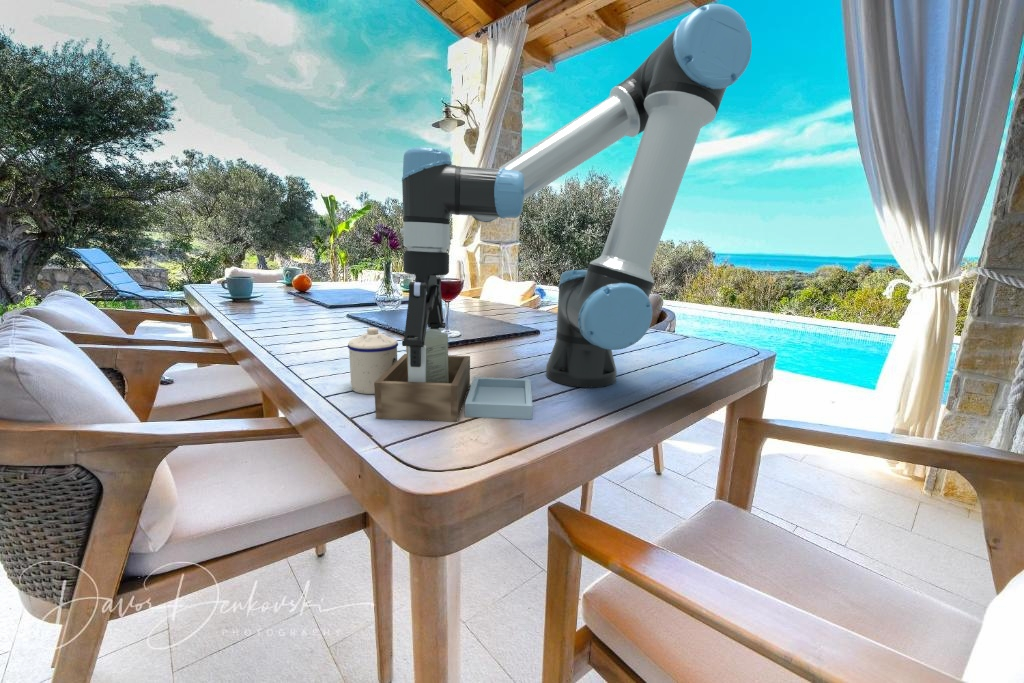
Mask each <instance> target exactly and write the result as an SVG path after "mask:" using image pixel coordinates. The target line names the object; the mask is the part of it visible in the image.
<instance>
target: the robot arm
mask: <svg viewBox="0 0 1024 683" xmlns="http://www.w3.org/2000/svg"><path fill="white" fill-rule="evenodd" d="M751 36H752V35H751V31H749V30H748V27H747V23H746V20H745V19H744V18H743V17H742V16H741V14H740V13H739V12H737V11H736V10H735V9H734V8H732V7H730V6H728V5H725V4H721V3H708V4H705V5H703V6H699V8H697V9H695V10H693V11H692V12H691V13H690V14H688V15H687V16H685V17H684V18H683V19H681V21H680V22H679V23H678V24H677V26H676V28H675V29H674V30H673V31H672V32H671V33H670V34H669V35H668V36H667V37H666V38H665V39H664V40H662V42H661V43H660V44H659V45H658V46H657V47H656V48H655V50H653V51H652V52H651V53H650V54H649V56H647V58H646V59H645V60H644V61H643V62H642V63H641V64H640V65H639V66H638V68H636V70H635V71H633V72H632V74H630V75H629V76H628V77H626V78H625V79H624V80H622V81H621V82H619V83H618V84H617V85H616V86H614V87H612V88H611V90H610V92H609V96H608V97H607V98H606V99H605V100H603V101H602V102H600V103H598V104H596V105H595V106H593V107H592V108H590V109H589V110H587V111H586V112H584V113H582V114H581V115H579V116H578V117H576V118H574V119H573V120H572V121H570V122H568V123H567V124H565V125H564V126H562V127H561V128H559V129H557V130H556V131H554V132H552V133H551V134H550V135H548V136H546V137H544V138H543V139H541V140H540V141H538V142H537V143H535V144H534V145H533V146H531V147H529V148H527V149H526V150H524V151H522V152H521V153H519V154H518V155H516V156H515V157H514V158H512V159H510V160H509V161H507V162H506V163H504V164H502V165H501V166H499V167H498V168H491V167H490V168H489V167H475V166H474V167H472V166H461V165H456V164H452V161H451V155H450V153H449V152H447V151H446V150H443V149H441V148H433V147H424V146H422V147H421V146H416V147H411V148H408V149H407V150H406V151H405V152H404V154H403V161H402V164H403V165H402V177H401V185H402V187H401V188H402V216H403V218H402V221H403V228H400V230H399V233H400V234H401V235H403V241H402V242H403V243H402V244H403V246H404V247H405V248H407V250H405V251H404V252H403V254H402V258H403V260H402V262H403V264H402V266H403V272H404V273H405V274H407V275H414V276H415V278H414V281H410V282H409V284H408V299H407V300H408V302H407V309H406V319H405V320H406V321H405V327H404V337H403V340H401V345H402V347H406V346H408V382H425V383H426V346H425V345H424V344H425V342H424V341H425V335H426V332H427V331H432V330H434V331H438V332H442V329H446V322H444V321H445V319H444V311H443V300H442V299H443V298H442V289H441V287H442V283H441V282H442V278H441V276H446V275H448V274H449V273H450V254H449V253H448V252H447V250H449V249H450V246H451V245H450V244H451V243H450V242H451V240H450V239H451V237H450V236H451V224H450V220H451V219H450V217H451V215H455V216H472V218H473V219H474V220H476V221H478V222H482V223H491V222H493V221H494V220H496V219H498V218H499V219H503V220H504V219H506V218H508V219H512V218H513V219H516V218H517V219H518V218H520V216H521V215H522V213H523V208H524V201H525V200H526V199H528V198H529V197H531V196H532V195H534V194H536V193H537V192H539V191H540V190H542V189H543V188H545V187H546V186H548V185H550V184H551V183H553V182H555V181H556V180H558V179H559V178H561V177H562V176H564V175H566V174H567V173H568V172H571V171H572V170H574V169H575V168H577V167H578V166H580V165H581V164H583V163H584V162H586V161H588V160H590V159H591V158H593V157H595V156H596V155H597V154H599V153H601V152H602V151H604V150H605V149H607V148H608V147H610V146H612V145H613V144H615V143H617V142H618V141H619V140H621V139H623V138H624V137H626V136H627V137H629V138H634V137H637V136H638V135H640V134H641V133H642V135H641V139H640V141H639V144H638V147H637V150H636V153H635V156H634V159H633V162H632V163H631V164H632V165H631V168H630V171H629V173H628V176H627V180H626V183H625V186H624V188H623V190H622V194H621V197H620V201H619V203H618V207H617V209H616V211H615V215H614V218H613V220H612V223H611V226H610V228H609V232H608V235H607V237H606V238H607V239H606V240H605V244H604V247H603V250H602V252H601V255H600V256H599V257H597V258H596V259H593V260H591V261H590V262H589V264H588V267H587V269H571V270H566V271H563V272H561V273H560V274H561V275H560V278H559V283H558V286H557V287H558V300H557V301H558V302H557V318H556V337H555V342H554V345H553V347H552V350H551V353H550V356H549V358H548V359H547V360H548V361H547V363H546V369H545V370H546V371H545V375H546V377H547V378H548V379H549V380H551V381H552V382H555V383H558V384H560V385H565V386H570V387H577V388H602V387H603V388H604V387H607V386H610V385H613V384H614V383H615V382H616V381H617V378H616V377H617V366H616V363H615V360H614V359H615V358H614V355H613V354H614V353H613V351H618V350H623V349H626V348H628V347H631V346H633V345H635V344H636V343H638V342H639V341H640V340H641V339H642V338H644V337H645V334H646V333H647V332H648V331H649V329H650V326H651V323H652V321H653V314H654V312H653V306H652V304H651V301H650V294H651V292H652V289H653V287H654V284H655V280H654V278H653V276H652V274H651V271H650V269H651V265H652V262H653V260H654V257H655V254H656V252H657V250H658V246H659V244H660V241H661V238H662V236H663V233H664V230H665V227H666V225H667V221H668V219H669V216H670V214H671V211H672V208H673V205H674V202H675V200H676V198H677V194H678V192H679V189H680V186H681V183H682V180H683V178H684V176H685V172H686V170H687V167H688V164H689V163H690V162H689V161H690V159H691V156H692V153H693V150H694V148H695V145H696V143H697V140H698V137H699V135H700V132H701V129H702V128H704V127H706V126H707V125H709V124H710V123H712V122H713V121H714V120H715V119H716V116H717V113H718V111H719V108H720V107H721V103H722V100H723V97H724V95H725V93H726V89H727V88H729V86H732V85H733V84H735V83H736V82H737V81H738V80H739V79H740V77H741V76H742V75H743V74H744V73H745V72H746V69H747V67H748V65H749V63H750V59H751V56H752V50H753V49H752V47H753V46H752V37H751ZM439 276H440V277H439ZM415 337H417V338H415Z"/></svg>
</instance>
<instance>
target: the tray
mask: <svg viewBox="0 0 1024 683" xmlns="http://www.w3.org/2000/svg"><path fill="white" fill-rule="evenodd" d="M531 386H532V385H531V379H530V378H507V377H505V378H504V377H503V378H502V377H483V376H482V377H481V376H480V377H479V376H473V378H472V382H471V383H470V386H469V389H468V392H467V395H466V398H465V401H464V417H466V418H490V419H495V418H496V419H514V420H516V419H517V420H532V419H533V398H532V388H531Z"/></svg>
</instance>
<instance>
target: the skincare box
mask: <svg viewBox="0 0 1024 683" xmlns="http://www.w3.org/2000/svg"><path fill="white" fill-rule="evenodd" d="M415 338H417V337H415ZM448 341H449V334H448V333H446V332H442V331H441V332H438V331H434V330H432V331H427V332H426V335H425V341H424V342H425V344H424V345H425V346H426V383H449V375H448V355H449V342H448ZM405 347H406V348H405V350H406V354H407V376H408V346H405Z"/></svg>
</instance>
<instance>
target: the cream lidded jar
mask: <svg viewBox="0 0 1024 683" xmlns="http://www.w3.org/2000/svg"><path fill="white" fill-rule="evenodd" d="M398 346H399V343H398V340H397V339H395V338H394V337H391V336H388V335H385V334H384V333H382V332H379V328H377V327H369V328H367V330H366V333H363V334H361V335H360V336H359V337H356V338H352V339H351V340H349V342H348V344H347V348H348V353H349V370H350V388H351V390H352V391H354V392H356V393H357V394H362V395H375V387H374V383H375V382H376V381H377V380H378V379H379V378H380V377H381V376H382V375H383V374H384V373H385V372H386V371H387V370H388V369H389V368H390V367H391V366H392V365H393V364H395V363H396V362H397V361H398Z"/></svg>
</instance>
